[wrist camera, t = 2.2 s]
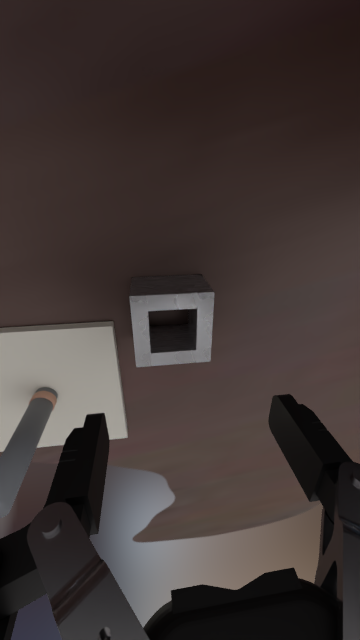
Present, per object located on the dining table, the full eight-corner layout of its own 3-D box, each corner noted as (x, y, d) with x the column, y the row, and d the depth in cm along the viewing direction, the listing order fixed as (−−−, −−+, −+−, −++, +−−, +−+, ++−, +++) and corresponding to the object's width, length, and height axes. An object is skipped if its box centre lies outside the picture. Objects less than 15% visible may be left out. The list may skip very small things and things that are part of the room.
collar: (131, 277, 22) (129, 296, 18) (201, 274, 22) (214, 292, 18) (137, 338, 24) (136, 367, 20) (199, 334, 25) (210, 361, 21)
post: (-56, 331, 22) (-221, 444, 12) (113, 321, 23) (91, 414, 13) (-3, 444, 28) (-83, 580, 18) (128, 430, 29) (120, 548, 20)
